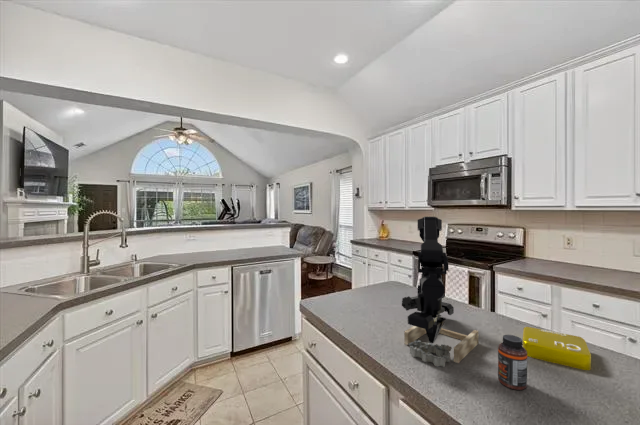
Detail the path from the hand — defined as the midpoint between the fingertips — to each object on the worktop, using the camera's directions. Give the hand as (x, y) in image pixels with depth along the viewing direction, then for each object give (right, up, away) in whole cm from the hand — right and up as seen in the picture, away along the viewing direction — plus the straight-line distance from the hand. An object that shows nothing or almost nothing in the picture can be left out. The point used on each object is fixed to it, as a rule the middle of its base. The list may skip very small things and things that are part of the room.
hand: (431, 342), depth 87 cm
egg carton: (-2, -3, -3) cm, 5 cm away
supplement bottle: (+13, -3, -16) cm, 21 cm away
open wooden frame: (+5, -3, +5) cm, 8 cm away
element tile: (+36, -4, 0) cm, 36 cm away
